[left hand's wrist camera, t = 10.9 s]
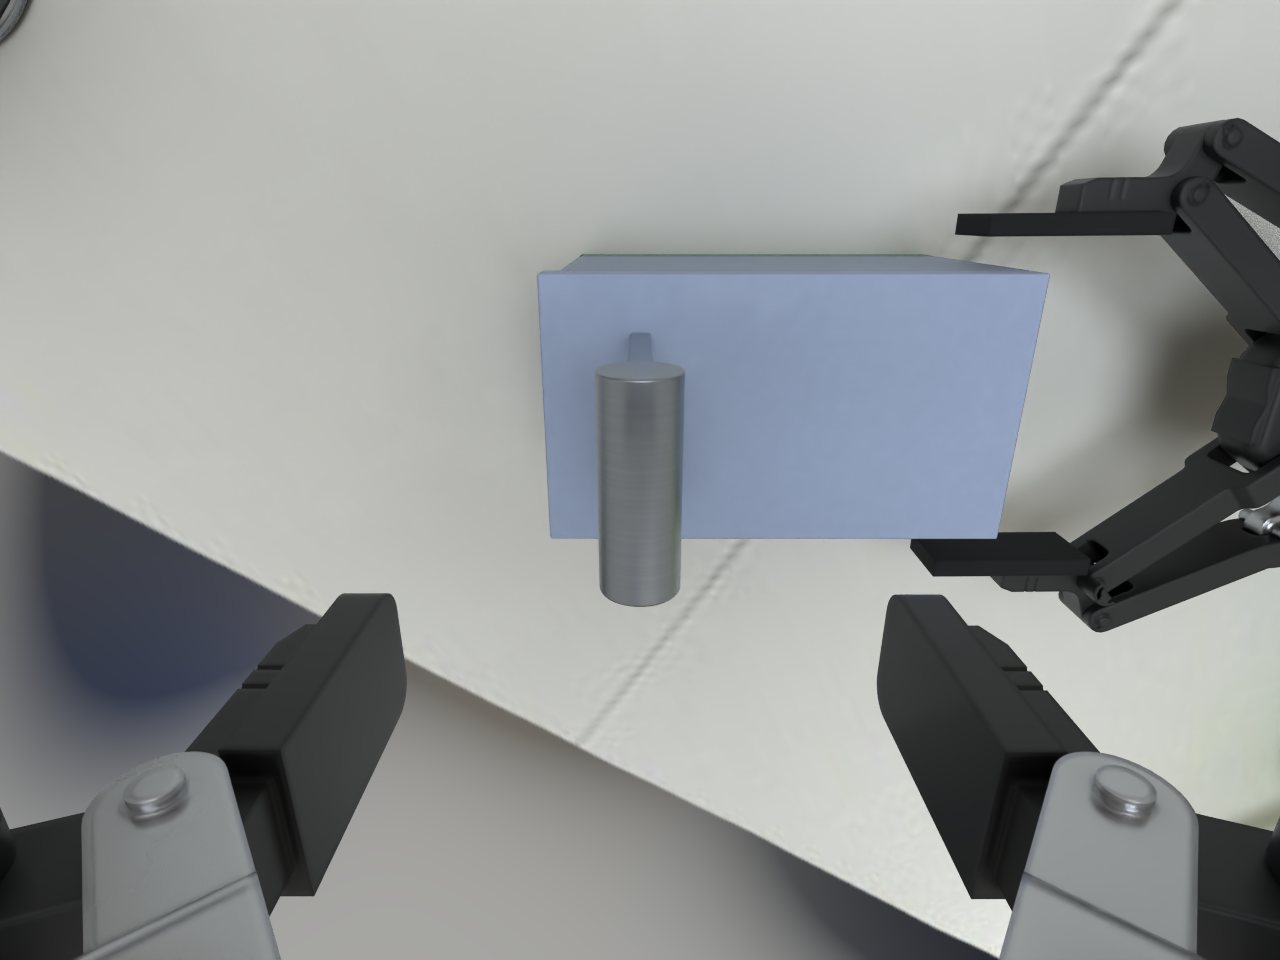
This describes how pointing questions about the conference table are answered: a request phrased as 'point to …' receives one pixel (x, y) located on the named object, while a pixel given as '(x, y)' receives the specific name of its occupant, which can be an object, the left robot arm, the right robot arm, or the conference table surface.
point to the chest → (775, 263)
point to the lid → (778, 408)
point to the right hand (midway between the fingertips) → (943, 403)
